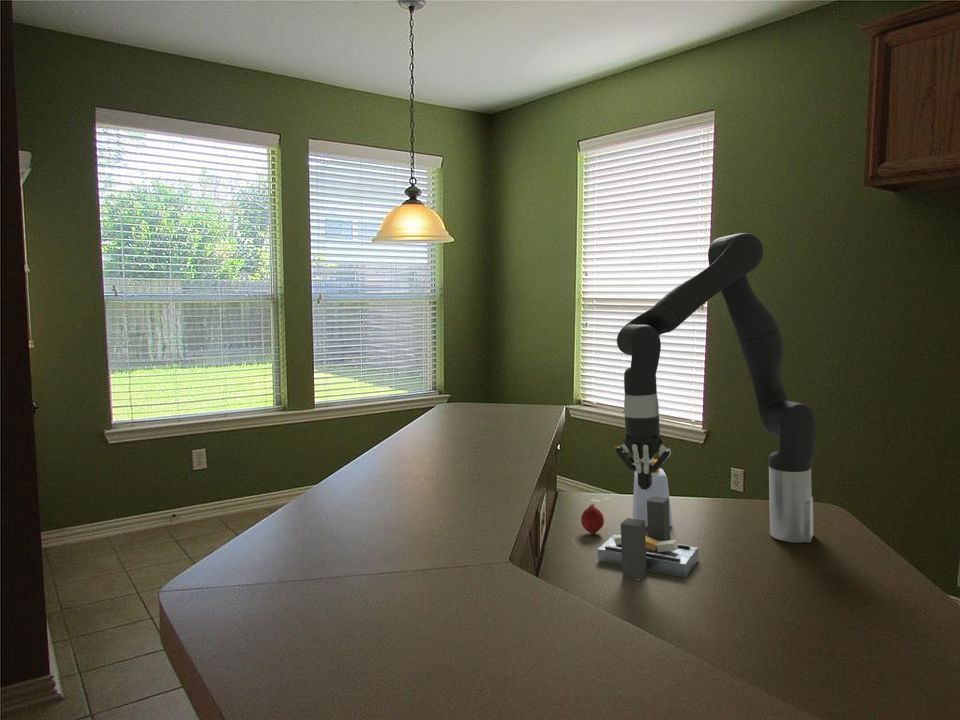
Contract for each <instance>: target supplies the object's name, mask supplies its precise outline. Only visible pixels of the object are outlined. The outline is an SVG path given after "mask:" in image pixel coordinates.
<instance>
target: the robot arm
mask: <svg viewBox="0 0 960 720" xmlns="http://www.w3.org/2000/svg"><path fill="white" fill-rule="evenodd" d="M763 256H764V246H763V243H762V241H761V240H760V239H759V237H757V236H756V235H755V234H752V233H748V232H741V233H734V234H730V235H725V236H724V235H723V236H722V237H717V238H716V239H714V240H713V241H712V242H711V243H710V245H709V248H708V252H707V260H708V266H707V267H706V268H704V269H703V270H702V271H700V272H699V273H697V274H696V275H694V276H692V277H690V278H689V279H687V280H686V281H683V282H682V283H681V284H679V285H678V286H676V287H674V288H673V289H672V290H670V291H669V292H668V293H667V294H665V295H664V296H663V297H662V298H661V299H660V300H658V302H656V303H655V304H654V305H653V306H652V307H651V308H649V309H648V310H646V311H644V312H643V313H641V314H639V315H638V316H637V317H635V318H633V319H632V320H630V321H629V322H628V323H626V324H625V325H624V326H622V327H621V329H620V330H619V332H618V334H617V336H616V344H617V345H616V346H617V348H618V349H619V351H621V352H622V353H623V354H624V355H628V356H631V360H630V367H629V368H626V369H625V370H624V372H623V374H624V375H623V386H624V387H623V388H624V401H623V402H624V403H623V406H624V407H623V413H624V414H623V415H624V430H625V438H624V440H623V443H622V444H621V445H619V447H617V446H616V447H617V448H616V449H615V452H616V454H617V455H618V456H619V457H620V459H621V460H622V462H623V463H624V464H625V465H626V467H627V468H628V469H629V470H630V471H634V472H635V471H636V472H637V474H638V485H639V486H640V487H641V489H644V490H648V489H649V488H650V487H651V486H652V472H656V471H657V470H658V469H659V468H661V467H662V466H663V465H664V463H665V462H666V461H667V459H668V458H670V456H671V454H672V453H673V449H672V448H667V447H666V446H665V445H663V440H662V439H661V435H660V434H661V429H660V428H661V427H660V409H659V408H660V407H659V406H660V405H659V399H658V393H657V391H658V390H657V389H658V387H657V370H658V366H659V363H660V362H659V361H660V356H661V349H662V347H661V346H662V345H661V344H662V342H661V337H660V335H663V334H667V333H670V332H673V331H674V330H675V329H677V328H678V327H679V326H680V325H681V324H682V323H684V322H685V321H686V320H687V319H688V318H689V317H691V316H692V315H693V314H695V312H696V311H698V309H699V308H700V307H702V306H703V305H705V303H707V302H708V301H709V300H710V299H711V298H713V297H715V296H716V295H717V294H718V293H720V292H721V294H722V296H723V299H724V302H725V305H726V307H727V310H728V313H729V317H730V319H731V323H732V324H733V327H734V331H735V335H736V338H737V340H738V344H739V347H740V349H741V353H742V355H743V358H744V362H745V363H746V368H747V370H748V374H749V376H750V380H751V383H752V386H753V390H754V394H755V399H756V403H757V405H756V406H757V409H758V415H759V417H760V422H761V424H762V426H763V428H764V430H765V431H766V432H767V433H768V434H770V435H772V436H774V437H777V438H779V447H778V448H779V449H778V450H777V451H774V452H771V453H770V454H769V455H768V487H769V489H768V495H769V496H768V497H769V498H768V499H769V534H770V536H771V537H772V538H774V539H775V540H779V541H781V542H787V543H795V544H796V543H800V544H801V543H807V544H808V543H811V542H812V539H813V536H814V497H813V495H812V462H813V459H814V457H815V453H816V436H817V435H816V431H817V429H816V428H817V426H816V425H817V423H816V416H815V413H814V411H813V409H812V408H811V407H810V406H809V405H807V404H804V403H801V402H797V401H791V400H789V398H788V395H787V393H786V391H785V388H784V384H783V381H782V366H783V363H784V362H783V361H784V356H785V344H784V341H783V338H782V335H781V332H780V328H779V326H778V322H777V320H776V319H775V317H774V315H773V314H772V312H771V311H770V310H769V308H767V306H766V305H765V304H764V303H763V302H762V301H761V300H760V298H759V297H758V296H757V294H756V293H755V292H754V290H753V289H752V287H751V284H750V282H749V279H748V276H747V275H748V274H749V273H751V272H752V271H754V270H755V269H756V268H757V267H759V265H760V264H761V261H762V259H763ZM658 452H659V453H658ZM657 453H658V455H659V458H658V459H657V461H656V463H655V464H654V465H652V462H653V459H654V457H655V456H656V454H657ZM632 456H633V457H632Z"/></svg>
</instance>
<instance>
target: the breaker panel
mask: <svg viewBox="0 0 960 720" xmlns="http://www.w3.org/2000/svg"><path fill="white" fill-rule="evenodd" d="M617 535H621V533H620V534H619V533H618V534H613V535H611V537H609V538H608V539H607V540H606V541H605V542H604V543H603V544H602V545H600V546H599V547H598V548H597V560H598V561H597V562H598V563H605V564H608V565H609V564H610V565H614V566H615V565H616V566H620V567H622V546H621V545H616V544H615V540H614V538H615V537H616V536H617ZM657 541H659V540H657ZM677 544H678V548H677V549H676V550H675V551H664V552H658V550H657V549H656V550H655V551H652V550H650V549H648V548H646V564H647V570H651V571H650V572H652V571H656V572H655V573H658V572H659V573H658V574H663V575H664V574H665V575H668V576H669V575H670V576H675V577H681V578H687V577H688V576H689V574H690V573H691V571H693V568H694V567H695V566H696V564H697V563H698V561H699V552H698V551H699V550H698V549H699V547H695V546H691V545H690V544H683V543H678V542H677Z"/></svg>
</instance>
